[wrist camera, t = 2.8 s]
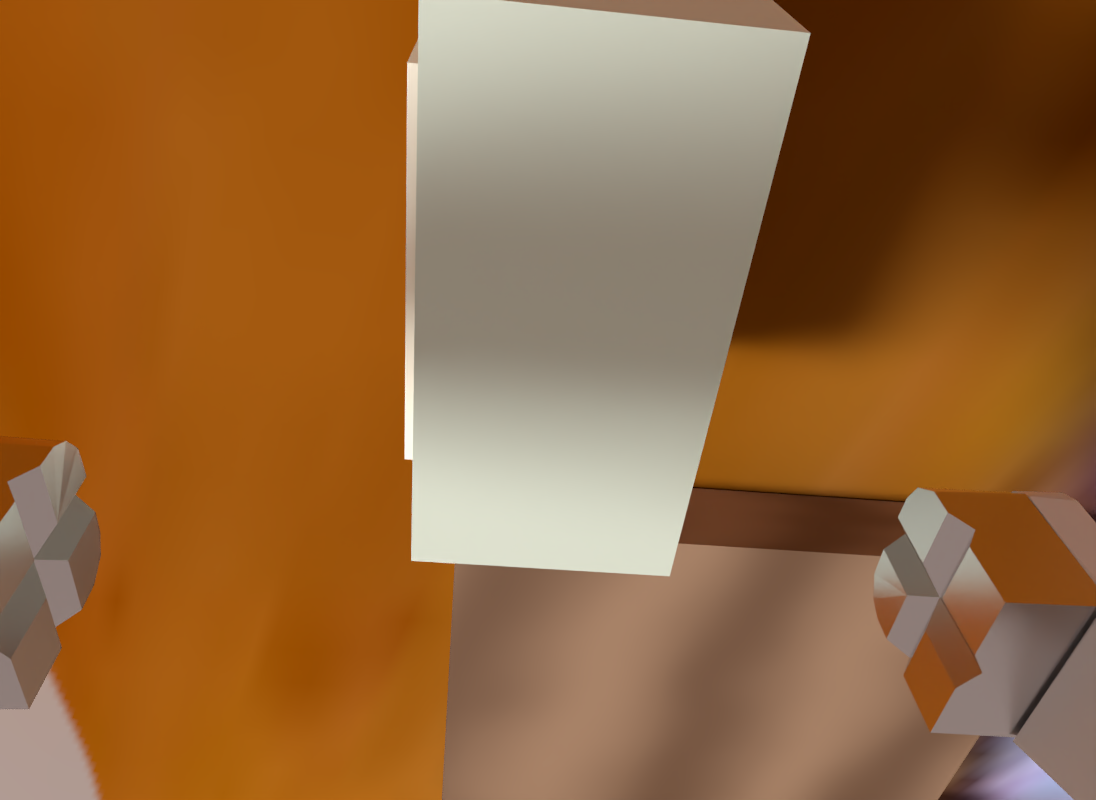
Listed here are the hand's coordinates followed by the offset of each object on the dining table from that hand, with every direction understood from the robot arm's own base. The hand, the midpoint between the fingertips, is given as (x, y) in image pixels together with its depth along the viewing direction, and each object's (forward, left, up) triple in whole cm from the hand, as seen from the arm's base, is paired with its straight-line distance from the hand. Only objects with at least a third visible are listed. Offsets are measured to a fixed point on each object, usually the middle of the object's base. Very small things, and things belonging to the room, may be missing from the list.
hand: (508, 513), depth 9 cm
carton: (-1, 0, -10) cm, 10 cm away
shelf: (-7, +15, -10) cm, 19 cm away
